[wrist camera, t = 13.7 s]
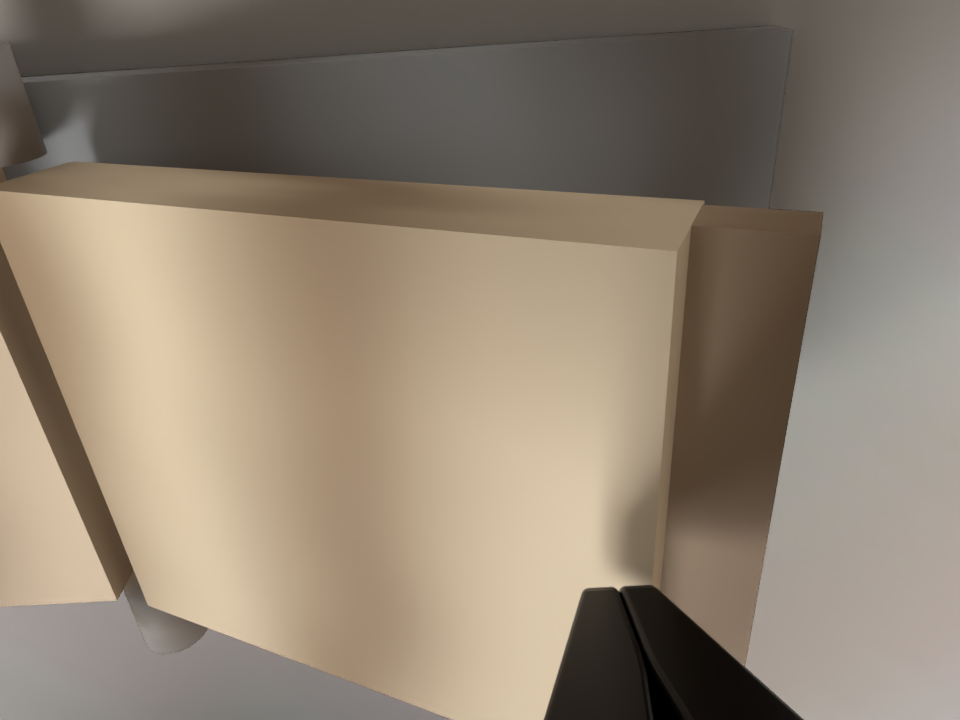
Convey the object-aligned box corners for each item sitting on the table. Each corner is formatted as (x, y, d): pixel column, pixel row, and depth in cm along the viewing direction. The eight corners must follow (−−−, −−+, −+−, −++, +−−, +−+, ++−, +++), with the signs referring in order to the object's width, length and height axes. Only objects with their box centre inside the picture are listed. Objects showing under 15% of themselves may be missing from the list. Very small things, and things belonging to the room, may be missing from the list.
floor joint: (-98, 591, 18) (-173, 675, 16) (-429, 68, 12) (-618, 92, 10) (709, 548, 18) (741, 627, 16) (778, -16, 12) (846, -9, 10)
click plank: (203, 552, 16) (148, 605, 15) (71, 161, 12) (-21, 188, 11) (733, 724, 12) (719, 820, 10) (823, 208, 8) (817, 264, 6)
